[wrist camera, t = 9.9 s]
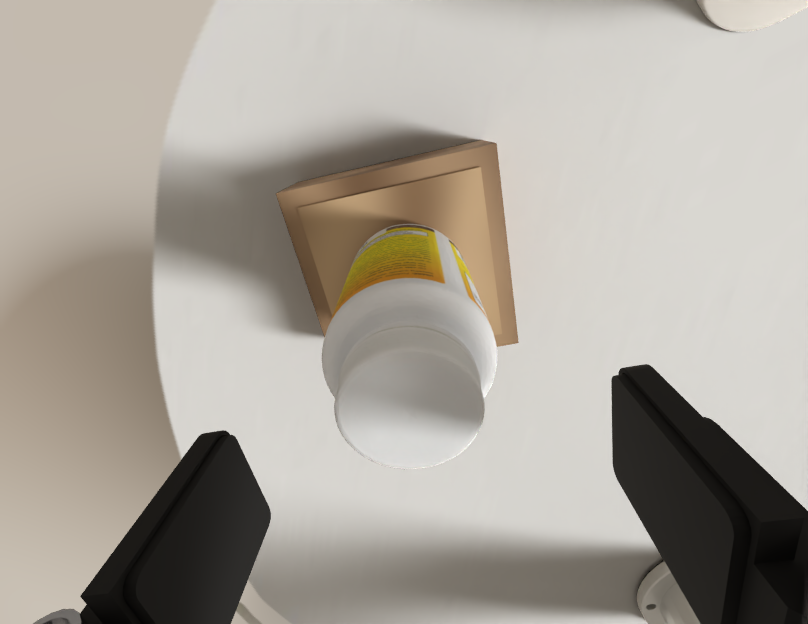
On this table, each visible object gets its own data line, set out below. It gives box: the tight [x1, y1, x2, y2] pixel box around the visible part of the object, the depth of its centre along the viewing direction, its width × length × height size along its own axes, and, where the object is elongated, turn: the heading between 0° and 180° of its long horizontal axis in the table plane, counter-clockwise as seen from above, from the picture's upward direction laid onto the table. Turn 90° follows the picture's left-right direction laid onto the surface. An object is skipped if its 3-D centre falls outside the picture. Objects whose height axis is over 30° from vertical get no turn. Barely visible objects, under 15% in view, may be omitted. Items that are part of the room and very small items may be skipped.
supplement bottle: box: [322, 224, 497, 469], centre depth 15 cm, size 6×6×10 cm
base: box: [276, 140, 518, 347], centre depth 21 cm, size 10×10×4 cm
